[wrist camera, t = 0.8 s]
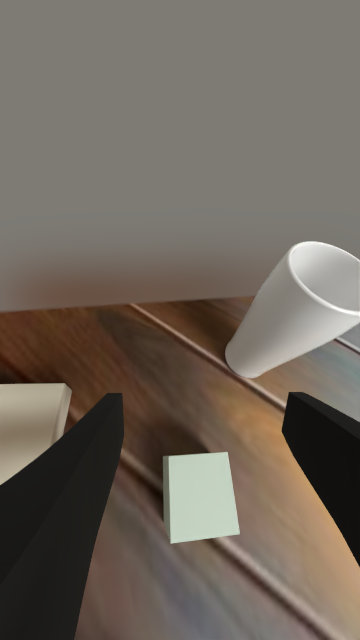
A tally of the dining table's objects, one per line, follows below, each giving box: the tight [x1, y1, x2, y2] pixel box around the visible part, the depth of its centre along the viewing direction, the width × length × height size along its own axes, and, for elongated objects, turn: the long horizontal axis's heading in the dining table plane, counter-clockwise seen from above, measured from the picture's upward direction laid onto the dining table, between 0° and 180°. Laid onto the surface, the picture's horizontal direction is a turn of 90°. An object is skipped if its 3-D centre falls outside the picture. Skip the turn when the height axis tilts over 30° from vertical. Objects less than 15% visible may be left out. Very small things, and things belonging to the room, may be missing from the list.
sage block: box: [163, 452, 240, 543], centre depth 17 cm, size 5×5×5 cm
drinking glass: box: [225, 241, 360, 378], centre depth 20 cm, size 7×7×15 cm
